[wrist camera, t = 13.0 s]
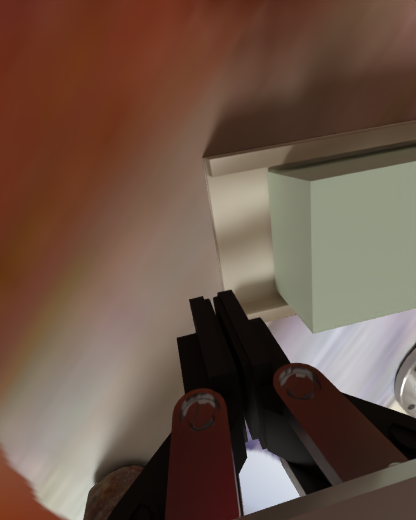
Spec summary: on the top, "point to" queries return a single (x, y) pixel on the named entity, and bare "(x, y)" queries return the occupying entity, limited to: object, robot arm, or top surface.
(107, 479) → the brown textured cylinder
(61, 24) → the top surface
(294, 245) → the sliding block
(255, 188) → the channel
